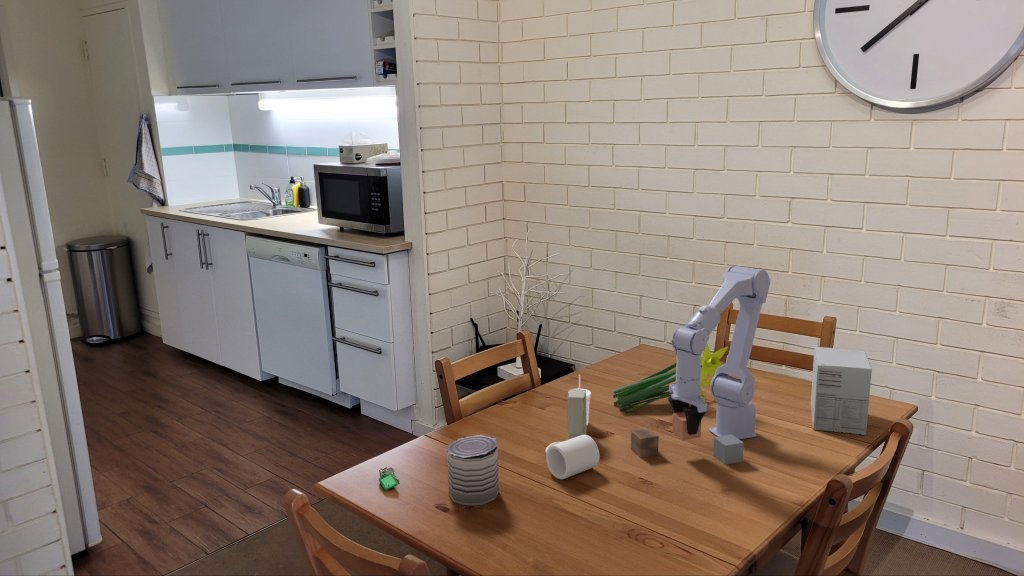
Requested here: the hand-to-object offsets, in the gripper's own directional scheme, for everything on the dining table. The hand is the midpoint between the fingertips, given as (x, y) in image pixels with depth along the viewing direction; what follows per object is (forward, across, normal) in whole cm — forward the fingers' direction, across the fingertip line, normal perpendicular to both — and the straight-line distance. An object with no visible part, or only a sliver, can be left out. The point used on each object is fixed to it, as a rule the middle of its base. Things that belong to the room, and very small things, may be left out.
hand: (686, 429), depth 184 cm
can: (+7, +1, -54) cm, 54 cm away
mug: (+7, -3, -30) cm, 31 cm away
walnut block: (+7, -5, -9) cm, 12 cm away
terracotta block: (+1, 0, 0) cm, 1 cm away
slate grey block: (+7, +5, +9) cm, 12 cm away
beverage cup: (+7, -27, -17) cm, 33 cm away
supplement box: (+7, -5, +49) cm, 50 cm away
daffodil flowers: (+7, -30, +12) cm, 33 cm away
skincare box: (+7, -19, -21) cm, 29 cm away
